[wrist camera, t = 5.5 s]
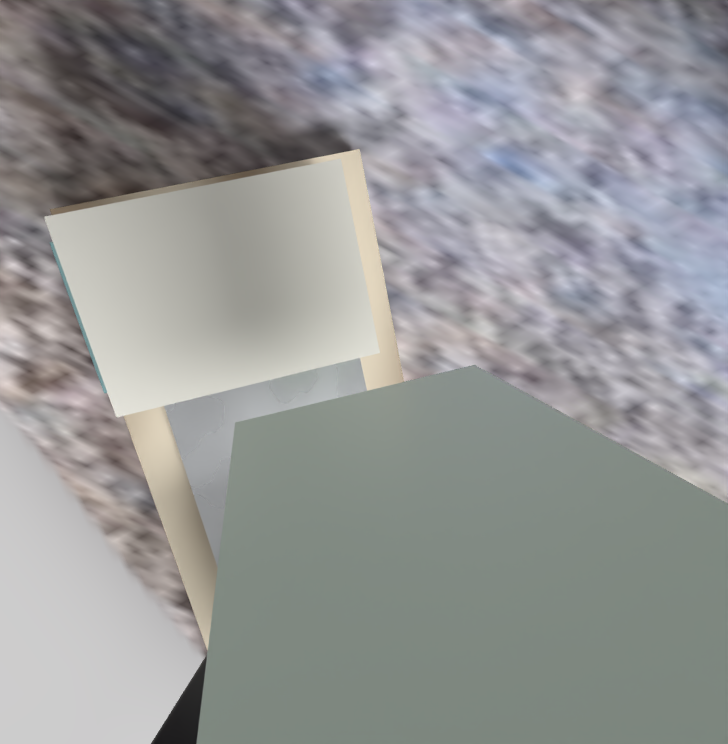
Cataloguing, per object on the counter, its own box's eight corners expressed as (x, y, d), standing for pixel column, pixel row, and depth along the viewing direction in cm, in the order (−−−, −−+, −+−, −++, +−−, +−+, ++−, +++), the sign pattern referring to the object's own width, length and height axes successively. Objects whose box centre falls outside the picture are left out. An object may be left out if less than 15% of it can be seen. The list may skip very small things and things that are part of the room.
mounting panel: (354, 154, 18) (359, 149, 17) (443, 613, 24) (451, 629, 23) (62, 211, 17) (49, 209, 16) (227, 681, 22) (225, 701, 22)
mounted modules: (322, 179, 17) (341, 158, 13) (418, 632, 22) (455, 727, 18) (90, 226, 16) (25, 220, 12) (246, 686, 21) (241, 800, 17)
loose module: (474, 364, 10) (1435, 890, 2) (503, 586, 11) (1122, 1444, 3) (234, 422, 9) (85, 1659, 1) (296, 650, 10) (426, 1942, 2)
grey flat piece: (319, 173, 17) (320, 172, 17) (416, 630, 22) (419, 636, 22) (104, 216, 16) (100, 215, 16) (257, 680, 22) (257, 688, 21)
